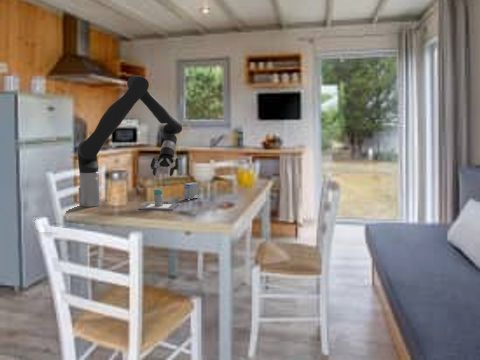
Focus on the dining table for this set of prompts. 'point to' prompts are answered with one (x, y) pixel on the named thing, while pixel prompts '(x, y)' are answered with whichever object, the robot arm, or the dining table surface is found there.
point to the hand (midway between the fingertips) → (162, 175)
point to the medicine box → (191, 190)
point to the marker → (158, 197)
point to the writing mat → (158, 207)
